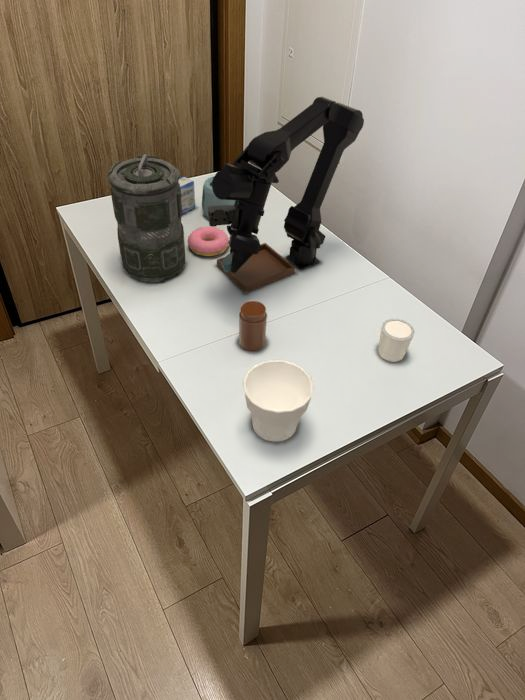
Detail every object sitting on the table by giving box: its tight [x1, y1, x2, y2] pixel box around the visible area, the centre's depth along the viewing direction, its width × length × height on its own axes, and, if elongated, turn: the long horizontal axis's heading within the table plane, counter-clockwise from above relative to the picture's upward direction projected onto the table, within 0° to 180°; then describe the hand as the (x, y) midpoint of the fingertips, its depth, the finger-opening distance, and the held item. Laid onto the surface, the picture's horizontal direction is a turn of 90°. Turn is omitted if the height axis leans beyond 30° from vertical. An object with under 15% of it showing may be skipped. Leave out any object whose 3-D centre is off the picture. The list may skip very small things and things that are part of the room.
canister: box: [107, 153, 186, 283], centre depth 126 cm, size 16×16×28 cm
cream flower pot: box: [242, 359, 315, 442], centre depth 97 cm, size 12×12×11 cm
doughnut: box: [187, 226, 230, 257], centre depth 142 cm, size 11×11×4 cm
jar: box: [238, 300, 268, 352], centre depth 114 cm, size 6×6×10 cm
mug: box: [201, 176, 235, 218], centre depth 154 cm, size 15×11×10 cm
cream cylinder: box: [377, 318, 415, 363], centre depth 114 cm, size 7×7×7 cm
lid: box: [221, 252, 249, 272], centre depth 120 cm, size 7×7×2 cm
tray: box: [216, 242, 296, 294], centre depth 136 cm, size 15×13×2 cm
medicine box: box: [178, 176, 196, 215], centre depth 153 cm, size 8×4×9 cm, turn 141°
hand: (232, 266), depth 121 cm, fingers closed on lid, 6 cm apart
